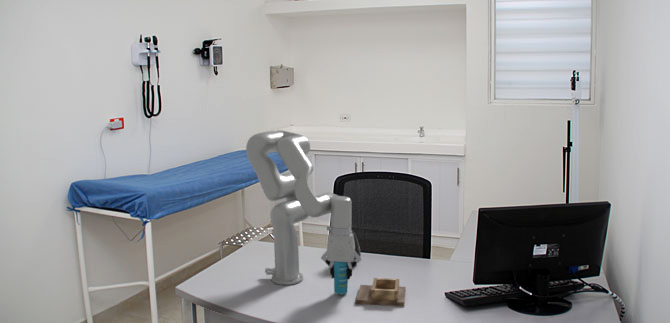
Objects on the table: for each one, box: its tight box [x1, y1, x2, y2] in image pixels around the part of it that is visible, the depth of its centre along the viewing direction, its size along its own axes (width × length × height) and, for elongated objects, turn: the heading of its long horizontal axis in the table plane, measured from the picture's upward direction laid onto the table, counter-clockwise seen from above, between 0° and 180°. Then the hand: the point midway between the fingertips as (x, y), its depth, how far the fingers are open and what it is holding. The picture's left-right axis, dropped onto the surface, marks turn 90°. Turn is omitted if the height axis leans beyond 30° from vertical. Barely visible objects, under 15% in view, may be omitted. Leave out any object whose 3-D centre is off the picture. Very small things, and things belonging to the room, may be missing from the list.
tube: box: [333, 262, 349, 295], centre depth 205 cm, size 7×5×19 cm, turn 123°
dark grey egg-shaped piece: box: [351, 229, 362, 261], centre depth 236 cm, size 10×10×15 cm
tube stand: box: [355, 277, 407, 307], centre depth 203 cm, size 17×14×5 cm
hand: (341, 277), depth 205 cm, fingers closed on tube, 5 cm apart
